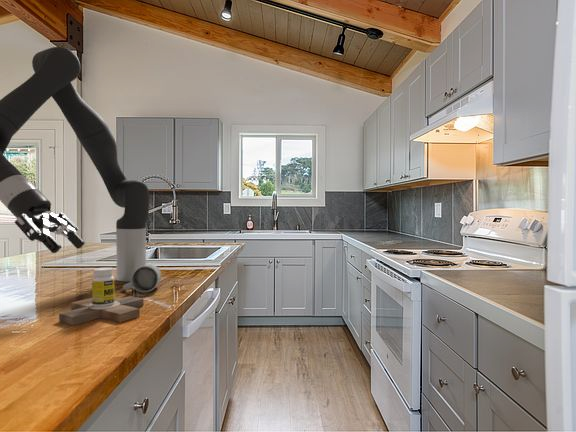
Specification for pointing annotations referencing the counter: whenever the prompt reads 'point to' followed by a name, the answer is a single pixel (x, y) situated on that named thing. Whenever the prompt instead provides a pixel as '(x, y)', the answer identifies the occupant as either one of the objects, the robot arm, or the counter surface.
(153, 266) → the ceramic mug
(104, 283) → the supplement bottle
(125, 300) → the walnut cross joint
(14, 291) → the counter surface
